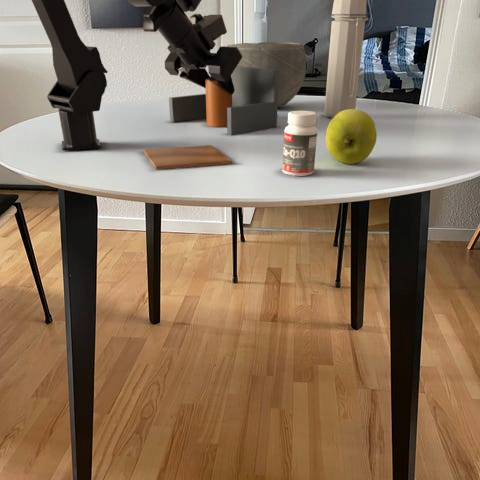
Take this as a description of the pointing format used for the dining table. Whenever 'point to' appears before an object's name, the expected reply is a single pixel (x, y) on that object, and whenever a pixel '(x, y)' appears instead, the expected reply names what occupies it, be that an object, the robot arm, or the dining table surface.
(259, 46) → the bowl
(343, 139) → the apple
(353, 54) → the water bottle
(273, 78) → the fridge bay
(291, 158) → the pill bottle
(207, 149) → the wooden square board
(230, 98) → the amber bottle
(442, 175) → the dining table surface
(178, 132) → the dining table surface
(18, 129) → the dining table surface
